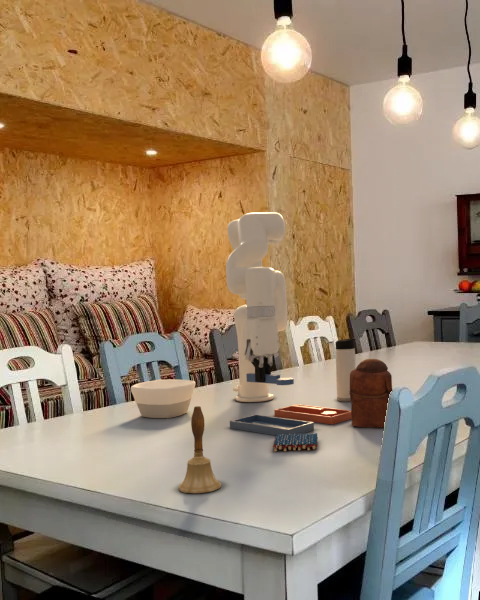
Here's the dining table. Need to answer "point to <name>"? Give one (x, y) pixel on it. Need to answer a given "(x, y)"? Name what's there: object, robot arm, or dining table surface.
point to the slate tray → (271, 425)
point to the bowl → (163, 397)
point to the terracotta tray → (340, 416)
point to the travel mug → (344, 367)
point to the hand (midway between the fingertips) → (263, 380)
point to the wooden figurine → (370, 393)
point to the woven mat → (295, 441)
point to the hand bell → (198, 462)
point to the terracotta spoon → (312, 410)
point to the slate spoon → (271, 379)
